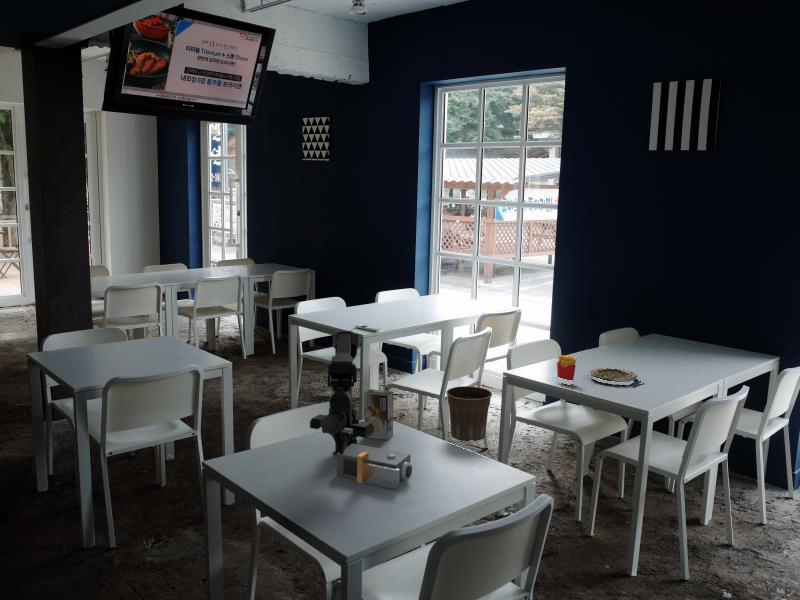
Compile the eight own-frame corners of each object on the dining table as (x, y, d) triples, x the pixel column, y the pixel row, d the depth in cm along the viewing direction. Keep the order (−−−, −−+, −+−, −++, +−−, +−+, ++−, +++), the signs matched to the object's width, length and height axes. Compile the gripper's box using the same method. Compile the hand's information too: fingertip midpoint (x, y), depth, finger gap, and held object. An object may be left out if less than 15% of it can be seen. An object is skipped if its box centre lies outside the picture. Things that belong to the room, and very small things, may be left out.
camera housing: (336, 475, 216) (336, 451, 215) (352, 464, 225) (352, 441, 224) (401, 489, 207) (402, 464, 205) (416, 477, 216) (416, 453, 215)
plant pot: (480, 447, 243) (481, 401, 241) (437, 438, 251) (438, 394, 248) (497, 433, 257) (499, 390, 255) (456, 426, 265) (457, 384, 262)
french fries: (554, 382, 330) (556, 355, 328) (560, 380, 333) (561, 353, 331) (571, 386, 323) (573, 358, 321) (576, 384, 326) (578, 357, 324)
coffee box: (394, 435, 254) (394, 391, 251) (387, 440, 248) (388, 395, 245) (369, 431, 257) (370, 388, 254) (363, 437, 251) (363, 393, 248)
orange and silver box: (357, 487, 207) (357, 455, 205) (365, 481, 211) (365, 450, 210) (391, 494, 202) (391, 462, 201) (399, 488, 207) (399, 456, 205)
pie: (622, 392, 316) (622, 381, 315) (570, 381, 336) (570, 370, 335) (654, 382, 335) (654, 372, 334) (603, 372, 355) (603, 362, 354)
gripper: (299, 404, 204) (299, 457, 206) (356, 414, 196) (356, 468, 198) (319, 395, 214) (319, 445, 216) (375, 403, 206) (374, 455, 208)
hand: (341, 453), depth 209 cm, fingers closed
